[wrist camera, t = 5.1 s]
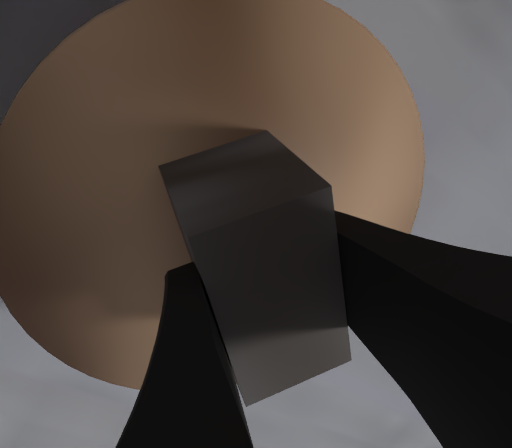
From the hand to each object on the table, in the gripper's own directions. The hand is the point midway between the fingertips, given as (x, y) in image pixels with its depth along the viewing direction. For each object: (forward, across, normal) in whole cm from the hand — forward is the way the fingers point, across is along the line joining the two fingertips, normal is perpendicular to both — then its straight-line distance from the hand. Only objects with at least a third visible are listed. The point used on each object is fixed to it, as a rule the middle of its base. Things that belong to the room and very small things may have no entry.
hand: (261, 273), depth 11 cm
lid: (+3, 0, 0) cm, 3 cm away
